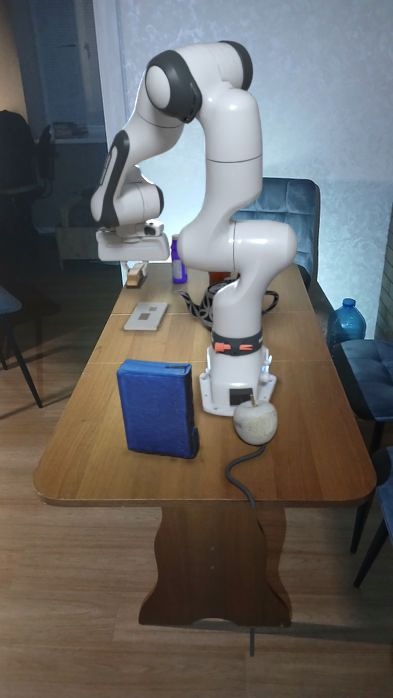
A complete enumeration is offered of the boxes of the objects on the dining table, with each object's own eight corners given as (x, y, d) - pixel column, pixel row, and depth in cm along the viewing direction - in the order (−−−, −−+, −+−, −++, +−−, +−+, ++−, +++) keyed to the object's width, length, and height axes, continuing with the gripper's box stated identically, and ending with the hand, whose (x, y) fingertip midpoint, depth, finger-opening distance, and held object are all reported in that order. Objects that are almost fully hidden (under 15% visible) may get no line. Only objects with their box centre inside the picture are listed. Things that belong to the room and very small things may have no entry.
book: (201, 447, 101) (197, 359, 91) (195, 464, 96) (190, 373, 87) (134, 438, 104) (123, 353, 95) (125, 455, 99) (112, 367, 90)
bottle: (171, 278, 193) (168, 233, 185) (186, 277, 193) (184, 232, 185) (173, 284, 186) (169, 238, 178) (188, 283, 187) (185, 237, 179)
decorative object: (266, 458, 97) (267, 415, 92) (226, 445, 101) (225, 403, 96) (283, 433, 103) (285, 392, 99) (245, 422, 107) (245, 382, 103)
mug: (212, 301, 170) (211, 272, 165) (204, 293, 177) (203, 265, 172) (245, 296, 173) (245, 267, 168) (235, 288, 180) (235, 260, 176)
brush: (139, 289, 141) (138, 275, 139) (125, 289, 141) (124, 275, 139) (147, 276, 150) (146, 262, 148) (134, 276, 151) (133, 262, 149)
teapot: (177, 315, 160) (174, 270, 153) (273, 311, 160) (274, 265, 153) (175, 342, 143) (172, 292, 136) (283, 337, 143) (285, 287, 136)
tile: (156, 330, 151) (156, 327, 151) (124, 329, 152) (123, 326, 152) (168, 305, 169) (168, 302, 168) (139, 304, 170) (139, 301, 170)
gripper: (91, 230, 137) (98, 278, 143) (165, 229, 134) (168, 278, 140) (98, 224, 142) (104, 271, 149) (169, 223, 140) (172, 271, 146)
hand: (136, 275), depth 145 cm, fingers closed on brush, 2 cm apart
